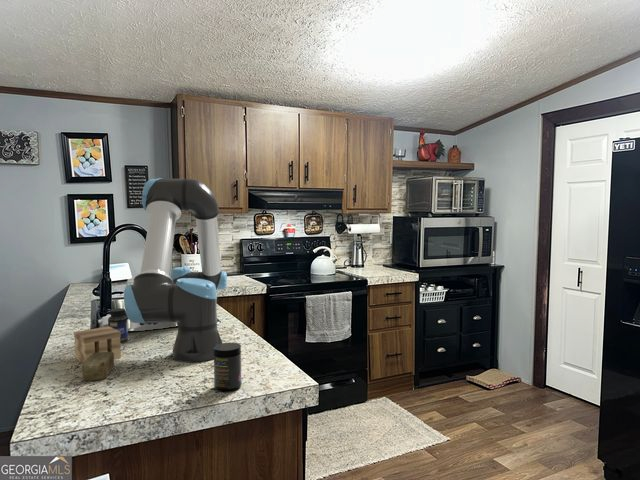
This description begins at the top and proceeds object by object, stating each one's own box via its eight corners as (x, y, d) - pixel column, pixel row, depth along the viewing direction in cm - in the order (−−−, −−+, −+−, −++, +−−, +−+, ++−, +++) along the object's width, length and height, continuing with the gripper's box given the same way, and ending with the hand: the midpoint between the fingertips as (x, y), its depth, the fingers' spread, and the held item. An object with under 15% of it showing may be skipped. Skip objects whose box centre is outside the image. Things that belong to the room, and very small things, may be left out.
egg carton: (116, 328, 168) (116, 318, 167) (96, 329, 167) (96, 319, 167) (127, 322, 178) (126, 312, 178) (108, 322, 178) (107, 312, 177)
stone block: (80, 383, 112) (80, 364, 112) (93, 368, 124) (92, 351, 123) (105, 381, 114) (104, 362, 113) (115, 366, 125) (114, 349, 125)
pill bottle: (108, 344, 145) (107, 312, 145) (108, 340, 151) (107, 308, 150) (128, 342, 148) (127, 310, 147) (128, 338, 154) (126, 307, 153)
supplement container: (240, 392, 105) (239, 350, 105) (212, 393, 105) (211, 351, 104) (242, 381, 112) (242, 342, 111) (216, 383, 111) (215, 343, 111)
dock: (121, 357, 132) (120, 331, 131) (85, 366, 125) (84, 338, 124) (109, 350, 139) (108, 326, 138) (74, 358, 132) (73, 332, 131)
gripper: (188, 323, 163) (143, 337, 144) (140, 317, 174) (92, 330, 155) (188, 303, 163) (142, 315, 144) (139, 298, 173) (91, 309, 154)
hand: (116, 323), depth 149 cm, fingers open, 13 cm apart
